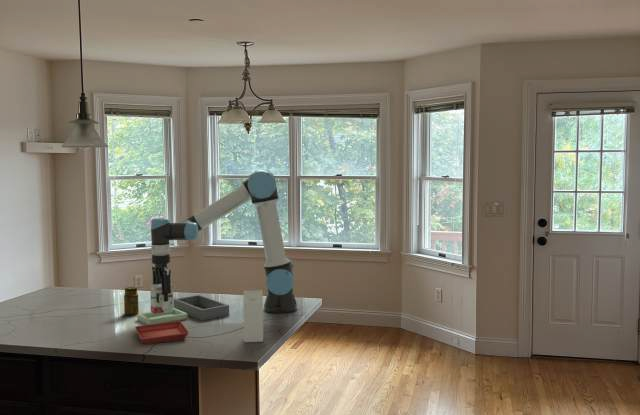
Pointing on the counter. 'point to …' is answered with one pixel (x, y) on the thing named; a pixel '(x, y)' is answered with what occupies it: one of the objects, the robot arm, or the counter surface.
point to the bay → (188, 307)
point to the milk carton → (253, 316)
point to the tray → (162, 317)
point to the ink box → (160, 299)
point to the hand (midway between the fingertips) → (162, 307)
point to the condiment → (130, 302)
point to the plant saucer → (162, 332)
